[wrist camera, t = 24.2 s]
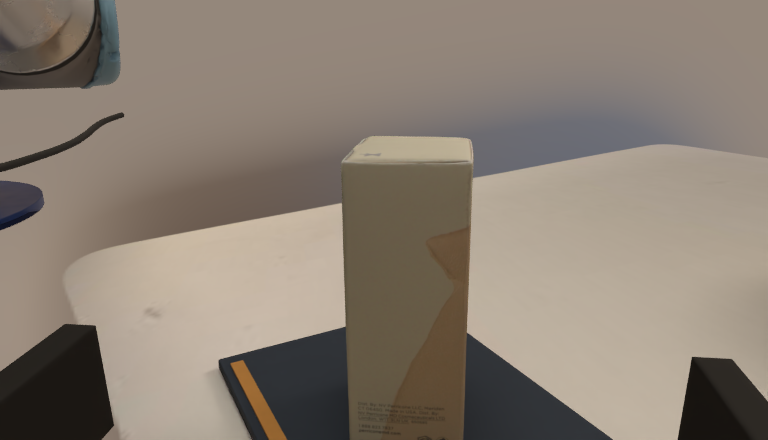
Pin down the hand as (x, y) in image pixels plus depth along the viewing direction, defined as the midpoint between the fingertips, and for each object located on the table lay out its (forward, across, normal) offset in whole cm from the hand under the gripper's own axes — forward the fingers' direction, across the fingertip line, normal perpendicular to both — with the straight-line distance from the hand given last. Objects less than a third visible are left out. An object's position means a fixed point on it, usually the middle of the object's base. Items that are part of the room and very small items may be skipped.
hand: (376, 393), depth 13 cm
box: (+9, 0, -7) cm, 12 cm away
